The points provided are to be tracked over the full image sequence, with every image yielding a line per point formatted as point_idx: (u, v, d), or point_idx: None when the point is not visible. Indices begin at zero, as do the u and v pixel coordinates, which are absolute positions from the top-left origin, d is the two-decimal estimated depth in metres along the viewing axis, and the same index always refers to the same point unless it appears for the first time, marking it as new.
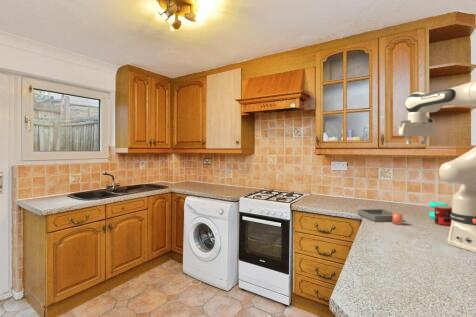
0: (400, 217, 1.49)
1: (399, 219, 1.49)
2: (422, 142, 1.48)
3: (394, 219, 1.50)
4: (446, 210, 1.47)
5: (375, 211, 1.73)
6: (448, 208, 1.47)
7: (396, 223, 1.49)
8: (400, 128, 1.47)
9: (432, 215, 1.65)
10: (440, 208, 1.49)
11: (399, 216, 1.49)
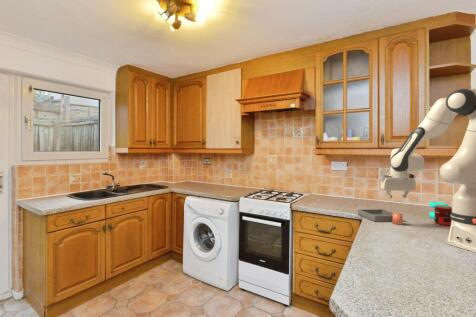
0: (400, 217, 1.49)
1: (399, 219, 1.49)
2: (403, 196, 1.52)
3: (394, 219, 1.50)
4: (446, 210, 1.47)
5: (375, 211, 1.73)
6: (448, 208, 1.47)
7: (396, 223, 1.49)
8: (382, 183, 1.50)
9: (432, 215, 1.65)
10: (440, 208, 1.49)
11: (399, 216, 1.49)
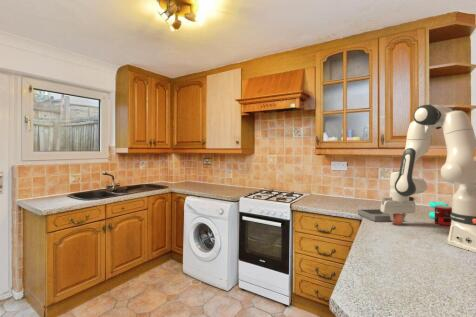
0: (400, 217, 1.49)
1: (399, 219, 1.49)
2: None
3: None
4: (446, 210, 1.47)
5: (375, 211, 1.73)
6: (448, 208, 1.47)
7: (396, 223, 1.49)
8: (382, 205, 1.50)
9: (432, 215, 1.65)
10: (440, 208, 1.49)
11: (399, 216, 1.49)
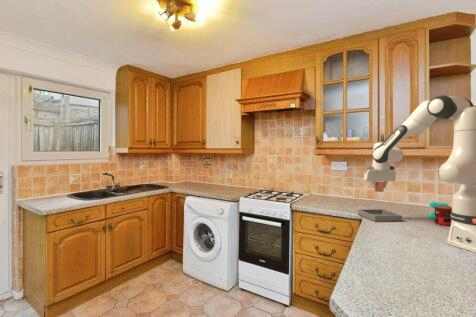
0: (381, 184, 1.62)
1: (380, 186, 1.62)
2: None
3: None
4: (446, 210, 1.47)
5: (375, 211, 1.73)
6: (448, 208, 1.47)
7: (378, 190, 1.63)
8: (365, 174, 1.64)
9: (432, 215, 1.65)
10: (440, 208, 1.49)
11: (380, 183, 1.62)
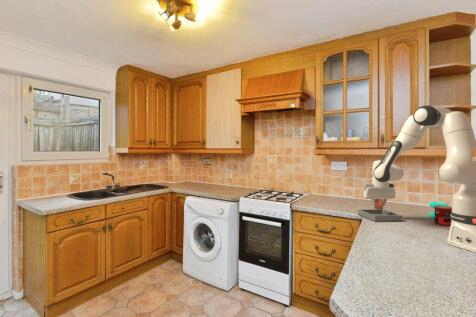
0: (381, 202, 1.62)
1: (380, 204, 1.62)
2: None
3: (376, 204, 1.64)
4: (446, 210, 1.47)
5: (375, 211, 1.73)
6: (448, 208, 1.47)
7: (377, 207, 1.63)
8: (364, 191, 1.64)
9: (432, 215, 1.65)
10: (440, 208, 1.49)
11: (380, 201, 1.62)
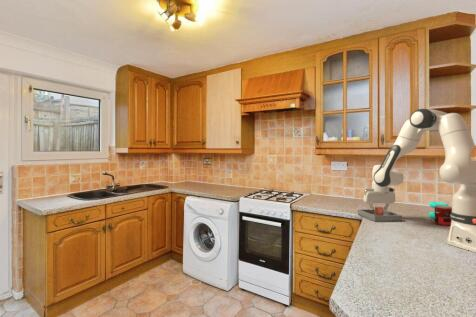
0: (381, 210, 1.62)
1: (380, 212, 1.62)
2: (384, 208, 1.65)
3: (376, 212, 1.64)
4: (446, 210, 1.47)
5: None
6: (448, 208, 1.47)
7: None
8: (364, 196, 1.64)
9: (432, 215, 1.65)
10: (440, 208, 1.49)
11: (380, 209, 1.62)
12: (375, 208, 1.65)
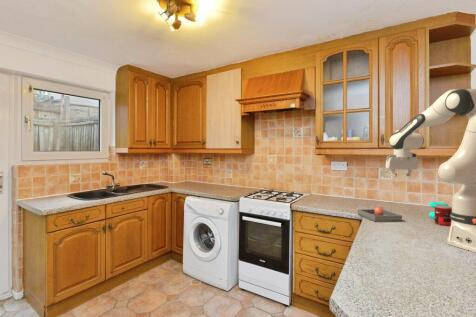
0: (381, 210, 1.62)
1: (380, 212, 1.62)
2: (407, 174, 1.61)
3: (376, 212, 1.64)
4: (446, 210, 1.47)
5: None
6: (448, 208, 1.47)
7: None
8: (387, 162, 1.59)
9: (432, 215, 1.65)
10: (440, 208, 1.49)
11: (380, 209, 1.62)
12: (375, 208, 1.65)
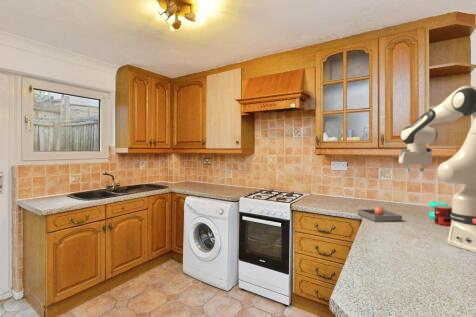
0: (381, 210, 1.63)
1: (380, 212, 1.62)
2: (421, 169, 1.59)
3: (375, 212, 1.64)
4: (446, 210, 1.47)
5: None
6: (448, 208, 1.47)
7: None
8: (400, 157, 1.57)
9: (432, 215, 1.65)
10: (440, 208, 1.49)
11: (380, 209, 1.63)
12: (375, 208, 1.65)
